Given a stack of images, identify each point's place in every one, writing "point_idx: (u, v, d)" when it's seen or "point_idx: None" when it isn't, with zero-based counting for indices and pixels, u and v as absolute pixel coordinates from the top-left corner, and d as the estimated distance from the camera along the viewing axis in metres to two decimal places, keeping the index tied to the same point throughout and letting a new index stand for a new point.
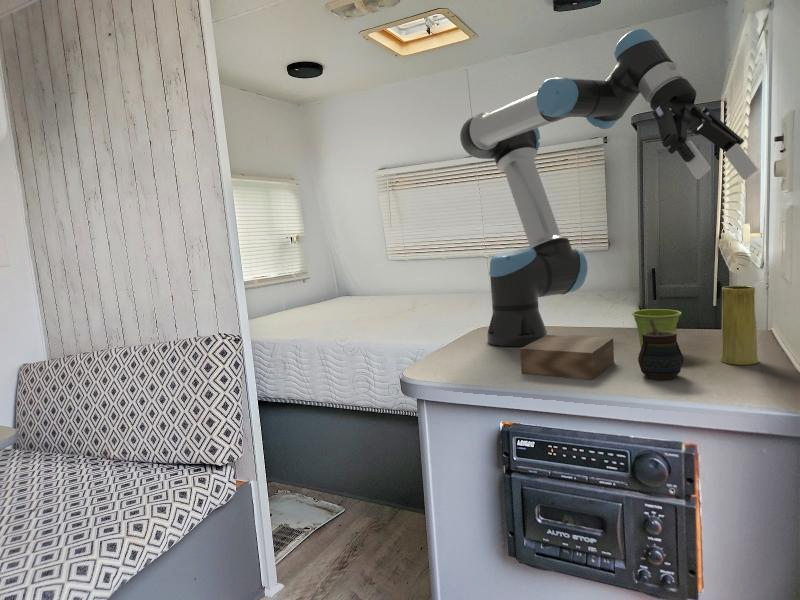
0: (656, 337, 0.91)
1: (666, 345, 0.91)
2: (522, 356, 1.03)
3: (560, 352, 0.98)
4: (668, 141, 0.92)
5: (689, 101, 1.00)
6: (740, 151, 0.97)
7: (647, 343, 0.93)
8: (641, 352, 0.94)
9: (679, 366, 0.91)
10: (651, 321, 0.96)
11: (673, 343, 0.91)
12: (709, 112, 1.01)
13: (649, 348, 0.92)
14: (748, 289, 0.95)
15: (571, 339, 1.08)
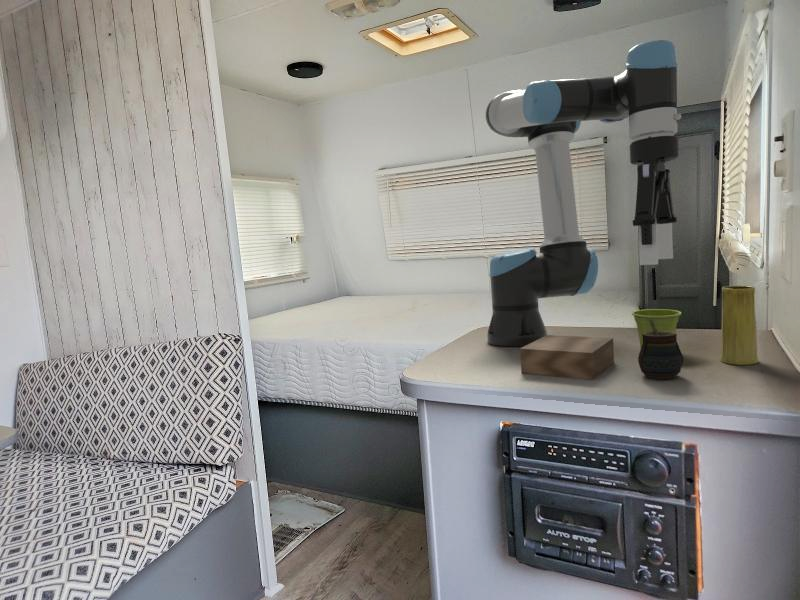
0: (656, 337, 0.91)
1: (666, 345, 0.91)
2: (522, 356, 1.03)
3: (560, 352, 0.98)
4: (642, 219, 0.83)
5: (664, 161, 0.91)
6: (670, 233, 0.96)
7: (647, 343, 0.93)
8: (641, 352, 0.94)
9: (679, 366, 0.91)
10: (651, 321, 0.96)
11: (673, 343, 0.91)
12: None
13: (649, 348, 0.92)
14: (748, 289, 0.95)
15: (571, 339, 1.08)
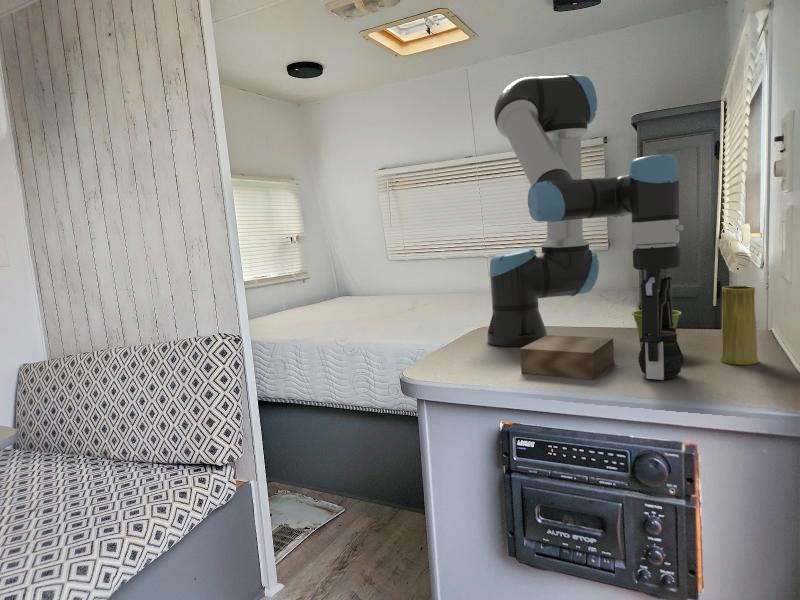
0: None
1: (666, 345, 0.91)
2: (522, 356, 1.03)
3: (560, 352, 0.98)
4: (649, 340, 0.88)
5: None
6: None
7: None
8: (641, 352, 0.94)
9: (679, 366, 0.91)
10: None
11: (673, 343, 0.91)
12: None
13: None
14: (748, 289, 0.95)
15: (571, 339, 1.08)
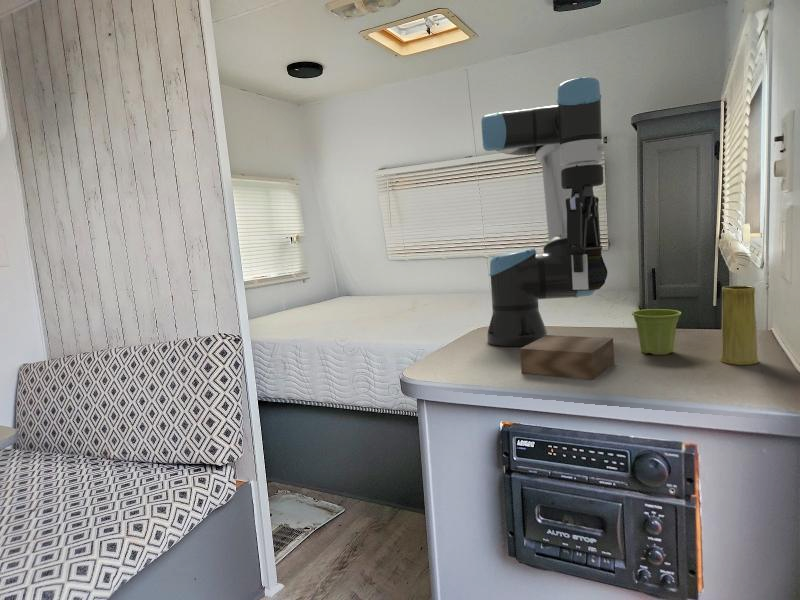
0: None
1: (591, 257, 0.98)
2: (522, 356, 1.03)
3: (560, 352, 0.98)
4: (573, 251, 0.95)
5: (592, 186, 0.99)
6: None
7: None
8: (569, 267, 1.01)
9: (603, 277, 0.98)
10: None
11: (597, 256, 0.98)
12: (597, 204, 1.03)
13: None
14: (748, 289, 0.95)
15: (571, 339, 1.08)
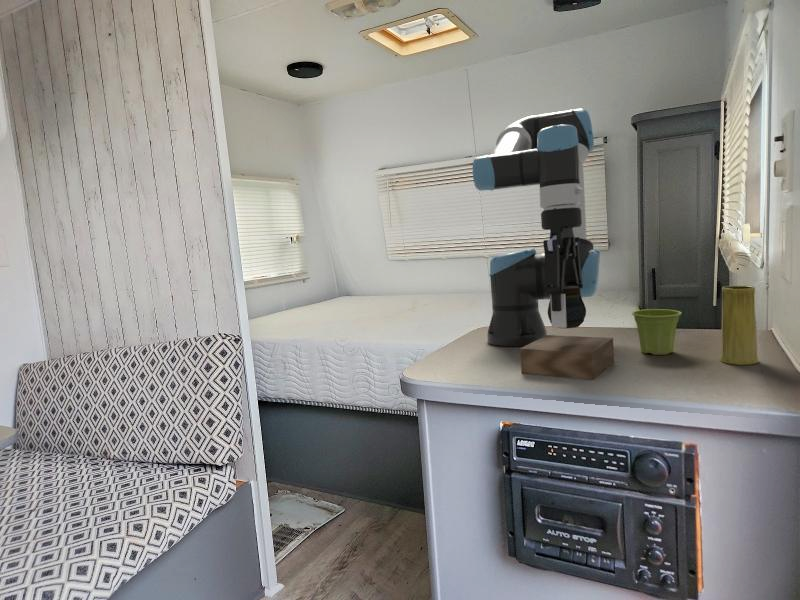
0: None
1: (569, 297, 1.01)
2: (522, 356, 1.03)
3: (560, 352, 0.98)
4: (550, 291, 0.98)
5: (571, 227, 1.03)
6: None
7: None
8: (549, 305, 1.04)
9: (581, 316, 1.01)
10: None
11: (576, 295, 1.01)
12: (577, 243, 1.06)
13: None
14: (748, 289, 0.95)
15: (571, 339, 1.08)
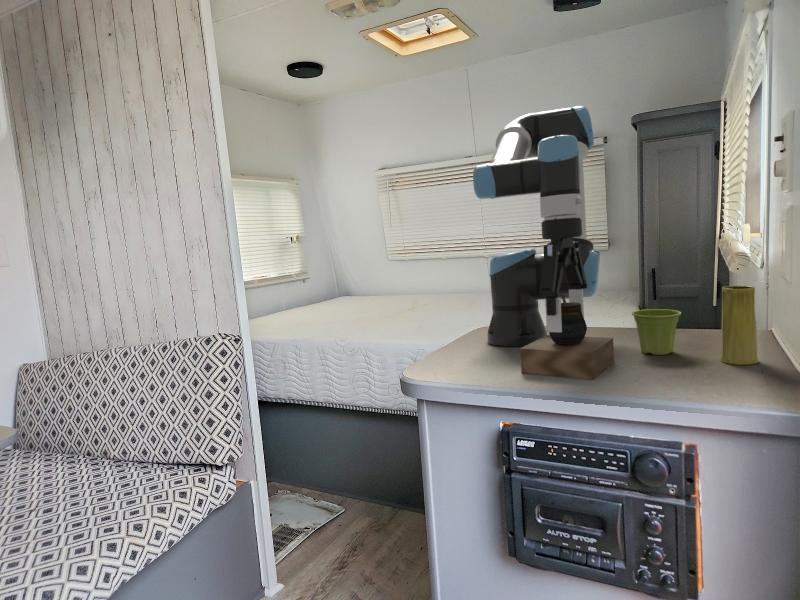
0: (561, 307, 1.02)
1: (570, 314, 1.01)
2: (522, 356, 1.03)
3: (560, 352, 0.98)
4: (545, 294, 0.96)
5: (572, 237, 1.03)
6: (581, 298, 1.08)
7: None
8: None
9: (582, 333, 1.01)
10: (562, 294, 1.07)
11: (576, 312, 1.02)
12: (578, 248, 1.07)
13: None
14: (748, 289, 0.95)
15: None
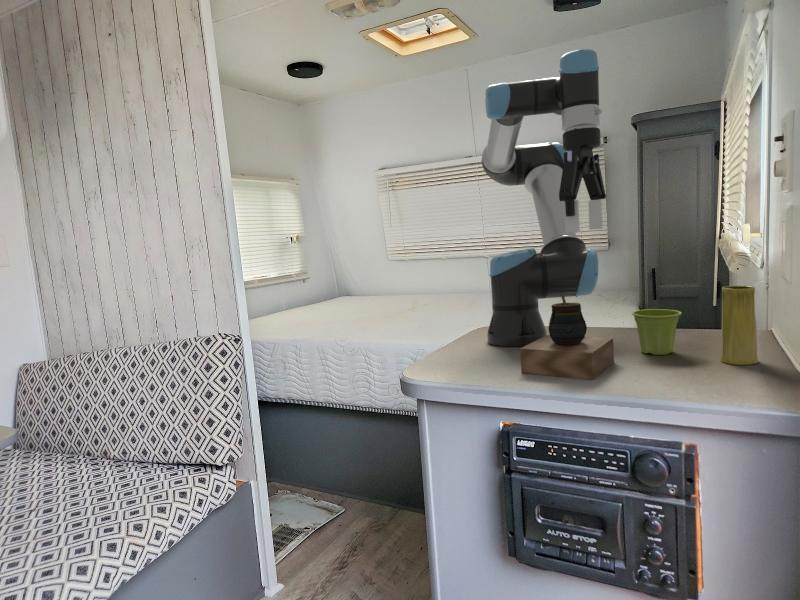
0: (561, 307, 1.02)
1: (570, 314, 1.01)
2: (522, 356, 1.03)
3: (560, 352, 0.98)
4: (564, 195, 1.04)
5: (591, 148, 1.11)
6: (599, 207, 1.16)
7: (554, 313, 1.03)
8: (550, 321, 1.04)
9: (582, 333, 1.01)
10: (561, 294, 1.07)
11: (576, 312, 1.02)
12: (597, 160, 1.14)
13: (556, 317, 1.03)
14: (748, 289, 0.95)
15: None
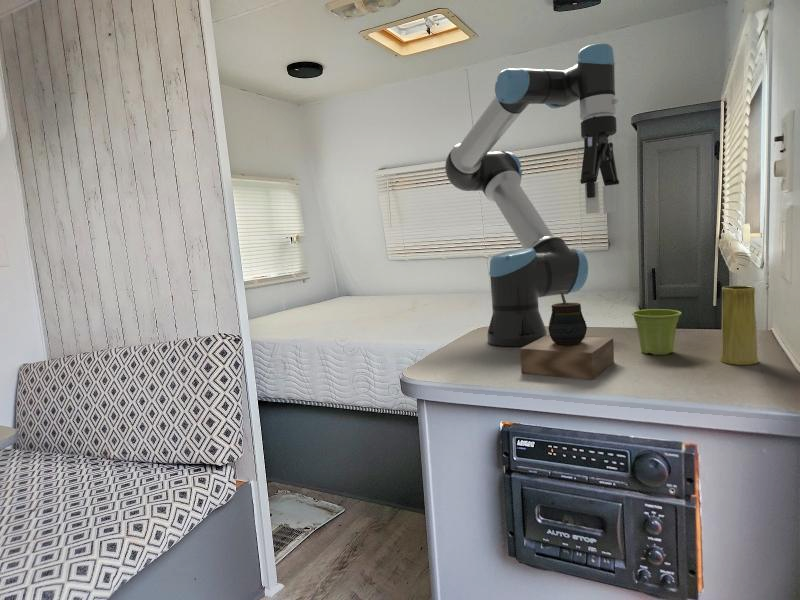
0: (561, 307, 1.02)
1: (570, 314, 1.01)
2: (522, 356, 1.03)
3: (560, 352, 0.98)
4: (586, 177, 1.11)
5: (607, 135, 1.19)
6: (613, 192, 1.24)
7: (554, 313, 1.03)
8: (550, 321, 1.04)
9: (582, 333, 1.01)
10: (562, 294, 1.07)
11: (576, 312, 1.02)
12: (611, 148, 1.23)
13: (556, 317, 1.03)
14: (748, 289, 0.95)
15: None
